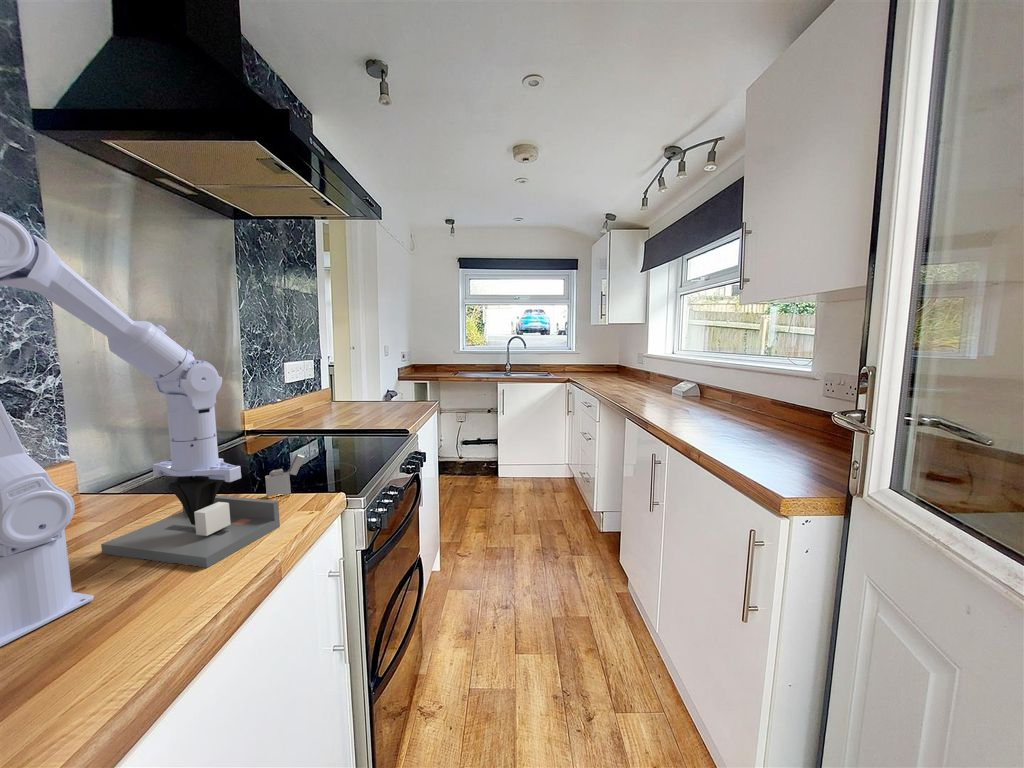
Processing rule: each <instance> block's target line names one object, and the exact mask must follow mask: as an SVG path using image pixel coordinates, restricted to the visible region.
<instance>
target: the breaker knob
mask: <svg viewBox="0 0 1024 768" xmlns="http://www.w3.org/2000/svg"><path fill="white" fill-rule="evenodd" d="M194 515H195V526H196V535H203V536H208V535H210V534H212V533H214V532H216V531H218V530H220V529H222V528H224V527H226V526H228V525H230V524H231V523H230V510H229V503H226V502H217V503H215V504H212V505H210V506H207V507H205V508H203V509H200V510H198V511H195V512H194Z"/></svg>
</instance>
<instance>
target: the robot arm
mask: <svg viewBox="0 0 1024 768" xmlns="http://www.w3.org/2000/svg"><path fill="white" fill-rule="evenodd" d="M0 286H3V287H10V288H15V289H20V290H25V291H32V292H34V293H38V294H39V295H40V296H42V297H43V298H45V299H47V300H48V301H49V302H52V303H54V305H57V306H58V307H59V308H61V309H63V310H64V311H66V312H68V313H69V314H70V315H71V316H74V317H75V318H77V319H78V320H80V321H82V322H83V323H85V324H87V325H88V326H90V327H91V328H93V329H94V330H96V331H98V332H99V333H101V334H102V335H104V336H105V337H106V338H107V343H108V344H107V345H108V348H109V351H110V352H111V353H113V354H114V355H116V357H119V358H120V359H121V360H123V361H125V362H126V363H128V364H129V365H131V366H132V367H133V368H135V369H136V370H138V371H139V372H141V373H142V374H144V375H145V376H147V377H148V378H149V379H151V380H152V383H153V386H154V388H155V389H156V390H157V392H158V393H161V394H162V393H163V395H165V403H166V405H165V406H166V415H167V416H166V417H167V426H168V427H167V428H168V436H169V449H170V460H164V461H161V462H157V463H153V464H152V474H153V475H152V476H153V477H162V476H168V477H177V479H176V481H173V482H170V483H168V489H169V490H170V491H171V492H172V493H173V494H174V495H175V496H176V497H177V499H178V500H179V502H180V504H181V506H182V508H183V507H184V509H185V511H186V513H187V516H188V518H189V520H190V522H191V524H192V525H195V515H194V512H195V511H198V510H200V509H203V508H205V507H207V506H210V505H212V504H213V503H214V500H215V497H216V495H218V492H219V490H220V488H221V485H222V484H223V482H226V483H232V482H234V481H237V480H240V479H242V472H241V471H242V469H241V465H234V464H230V463H228V462H225V461H224V458H221V457H220V458H219V448H218V435H217V423H216V408H215V404H217V394H218V392H219V390H220V389H221V387H222V384H223V377H222V376H219V372H218V371H217V369H216V368H215V366H214V365H213V364H212V363H211V362H208V361H206V360H201V359H196V358H195V357H194V356H193V355H194V352H193V351H192V350H190V349H187V348H183V347H182V346H181V345H180V344H179V343H177V342H176V341H175V340H174V339H172V338H170V337H169V336H168V335H167V334H166V333H167V329H166V328H165V327H164V326H163V325H161V324H153V323H152V322H150V321H147V320H133V319H131V318H130V317H129V316H128V315H126V313H124V312H123V311H122V310H121V309H119V308H118V306H116V305H115V304H114V303H112V302H111V301H110V300H109V299H108V298H107V297H105V296H104V295H103V294H102V293H101V292H100V291H98V290H97V289H96V288H95V287H94V286H92V285H91V284H90V283H89V282H88V281H86V279H84V278H83V277H82V276H81V275H80V274H78V273H77V272H76V271H75V270H73V269H72V267H70V266H69V265H68V264H67V263H65V262H64V261H63V260H62V259H61V258H60V256H59V255H58V254H57V253H56V251H55V250H54V249H53V248H52V246H51V245H50V244H49V243H48V242H46V241H45V240H43V239H41V238H40V237H38V236H37V235H35V234H30V233H29V231H28V230H27V229H26V227H24V225H22V223H20V222H19V221H18V220H16V219H15V218H13V217H12V216H10V215H8V214H7V213H4V212H3V211H0ZM75 508H76V507H75V500H74V499H73V497H72V496H71V494H70V493H69V492H67V491H66V490H65V489H62V488H61V487H59V486H57V485H56V484H54V482H53V481H52V480H51V478H50V475H49V474H48V472H47V471H46V470H45V469H44V468H43V467H42V466H41V465H40V464H39V463H38V462H36V461H35V460H34V459H33V458H32V457H31V456H29V455H28V454H27V453H26V450H25V448H24V446H23V443H22V442H21V440H20V438H19V435H18V433H17V431H16V429H15V427H14V426H13V422H12V421H11V419H10V417H9V414H8V413H7V411H6V408H5V407H4V404H3V403H2V400H1V399H0V648H1V647H2V646H5V645H7V644H9V643H11V642H12V641H15V640H16V639H19V638H21V637H22V636H24V635H27V634H28V633H30V632H32V631H34V630H37V629H38V628H40V627H43V626H45V625H46V624H48V623H50V622H53V621H54V620H56V619H59V618H60V617H62V616H65V615H66V614H68V613H71V612H72V611H74V610H76V609H78V608H80V607H82V606H84V605H86V604H88V603H91V602H92V601H93V600H94V599H95V596H94V595H92V594H86V593H80V592H74V591H73V589H72V581H71V571H70V563H69V557H68V556H69V555H68V546H67V539H66V538H67V537H66V528H67V526H68V525H69V524H70V522H71V521H72V519H73V517H74V515H75Z"/></svg>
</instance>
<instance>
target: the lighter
mask: <svg viewBox="0 0 1024 768" xmlns="http://www.w3.org/2000/svg"><path fill="white" fill-rule="evenodd" d="M304 460H305V455H304V454H301V453H297V452H296V453H295V456H294V459H293V460H292V463H291V464H290V467H289V469H288V471H287V472H284V470H283V468H279V469H273V470H271V471H270V472H269V475H265V476H264V478H265V479H264V480H265V488H266V489H265V490H266V492H265V493H266V498H267V497H269V496H272V495H278V494H289V493H292V492H291V491H292V490H291V480H290V479H291V477H290V475H293V476H297V474H298V472H299V470H300V467H302V466H301V465H302V463H303V461H304ZM289 495H290V494H289Z"/></svg>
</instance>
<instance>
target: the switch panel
mask: <svg viewBox="0 0 1024 768" xmlns="http://www.w3.org/2000/svg"><path fill="white" fill-rule="evenodd" d="M217 502H226V503H229V510H230V523H231V524H230V525H228V526H226V527H224V528H222V529H220V530H218V531H216V532H214V533H212V534H210V535H208V536H203V535H196V526H195V525H192V524H191V522H190V520H189V518H188V516H187V513H186V511H185V509H184V507H183V506H182V511H180V512H178V513H175V514H173V515H171V516H168V517H166V518H165V517H164V518H163V519H160V520H158V521H156V522H153V523H151V524H148V525H146V526H143V527H140V528H139V529H136V530H133V531H131V532H128V533H125V534H123V535H120V536H118V537H115V538H113V539H111V540H108V541H106V542H103V543H101V544H100V546H101V554H102V555H108V556H109V555H110V556H115V557H124V558H129V559H130V558H131V559H137V558H140V559H139V560H144V559H147V560H146V561H151V560H152V561H153V562H159V561H161V562H160V563H166V562H170V563H169V564H173V563H178V564H177V565H181V564H187V565H186V566H188V565H194V566H193V567H196V566H198V567H197V568H204V569H208V568H209V567H211V566H213V565H215V564H216V563H219V562H220V561H222V560H224V559H225V558H227V557H229V556H231V555H232V554H234V553H236V552H238V551H239V550H241V549H243V548H245V547H247V546H249V545H250V544H252V543H253V542H255V541H257V540H259V539H260V538H262V537H264V536H266V535H268V534H270V533H271V532H273V531H274V530H276V529H278V528H280V527H281V525H280V523H281V521H280V507H279V500H270V499H262V498H252V497H251V498H249V497H237V496H228V495H219V494H216V497H215V500H214V503H213V504H215V503H217ZM152 561H151V562H152Z"/></svg>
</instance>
